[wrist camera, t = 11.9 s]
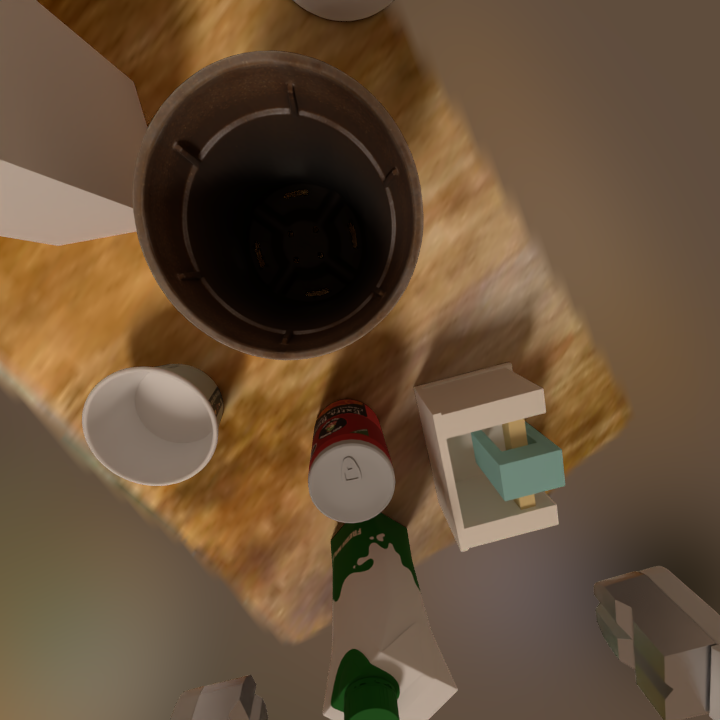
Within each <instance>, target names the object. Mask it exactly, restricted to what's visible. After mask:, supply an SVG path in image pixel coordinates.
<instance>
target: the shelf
mask: <svg viewBox="0 0 720 720" xmlns="http://www.w3.org/2000/svg"><path fill="white" fill-rule="evenodd" d="M414 392H415V397H416V401H417V406H418V410H419V415H420V419H421V424H422V429H423V433H424V438H425V442H426V447H427V451H428V456H429V460H430V465H431V470H432V474H433V479H434V483H435V488H436V492H437V497H438V501H439V504H440V506H441V509H442V511H443V513H444V515H445V518H446V520H447V522H448V524H449V526H450V529H451V531H452V533H453V535H454V537H455V540H456V542H457V544H458V546H459V548H460V550H461V552H463V551H467V550H468V548H471V547H475V546H479V545H482V544H486V543H490V542H494V541H498V540H501V539H505V538H509V537H513V536H516V535H520V534H524V533H528V532H532V531H535V530H539V529H543V528H547V527H550V526H554V525H558V524H559V522H558V513H557V504H556V503H555V502H554V501H553V500H552V499H551V498H550V497H549V496H548V495H547V494H546V493H545V492H544V491H543V492H540V493H536V494H532V495H528V496H524V497H520V498H516V499H513V500H509V501H504V500H503V498H502V497H501V496H500V494H499V493H498V492H497V490H496V489H495V488H494V486H493V485H492V483H491V482H490V481H489V479H488V478H487V477H486V475H485V474H484V473H483V471H482V470H481V469H480V467H479V466H478V465H477V463H476V460H475V455H474V449H473V443H472V437H471V432H474V431H478V430H482V431H483V432H484V433H485V434H486V435H487V436H488V437H489V438H490V440H491V441H492V442H493V443H494V444H495V445H496V446H497V447H498V448H499V449H500V450H501V451H506V450H510V449H514V448H518V447H521V446H525V445H528V442H527V435H526V427H525V420H524V418H528V417H532V416H535V415H539V414H543V413H546V407H545V399H544V390H543V388H541V387H540V386H538V385H536V384H534V383H532V382H531V381H529V380H527V379H525V378H523V377H522V376H520V375H518V374H516V373H515V372H513V369H512V363H510V362H508V363H504V364H500V365H496V366H492V367H489V368H485V369H481V370H477V371H473V372H469V373H465V374H462V375H458V376H454V377H450V378H446V379H442V380H439V381H435V382H431V383H427V384H423V385H419V386H416V387H414Z"/></svg>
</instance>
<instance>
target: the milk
mask: <svg viewBox="0 0 720 720" xmlns="http://www.w3.org/2000/svg"><path fill="white" fill-rule="evenodd" d="M147 129H148V128H147V125H146V121H145V118H144V115H143V111H142V108H141V105H140V101H139V98H138V95H137V91H136V88H135V85H134V82H133V81H132V80H131V79H130V78H128V77H127V76H126V75H125V74H124V73H122V72H121V71H120V70H119V69H118V68H116V67H115V66H114V65H113V64H112V63H110V62H109V61H108V60H107V59H106V58H104V57H103V56H102V55H101V54H100V53H99V52H97V51H96V50H95V49H94V48H93V47H91V46H90V45H89V44H88V43H87V42H85V41H84V40H83V39H82V38H81V37H79V36H78V35H77V34H76V33H75V32H73V31H72V30H71V29H70V28H69V27H67V26H66V25H65V24H64V23H63V22H62V21H60V20H59V19H58V18H57V17H56V16H54V15H53V14H52V13H51V12H50V11H48V10H47V9H46V8H45V7H44V6H42V5H41V4H40V3H39V2H38V1H36V0H0V236H4V237H10V238H15V239H21V240H27V241H33V242H39V243H45V244H51V245H57V246H60V245H65V244H71V243H76V242H81V241H87V240H92V239H98V238H103V237H109V236H114V235H120V234H125V233H131V232H136V231H137V230H136V225H135V219H134V212H133V182H134V173H135V167H136V161H137V157H138V153H139V150H140V147H141V144H142V141H143V138H144V136H145V133H146V131H147Z"/></svg>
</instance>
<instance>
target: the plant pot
mask: <svg viewBox="0 0 720 720" xmlns="http://www.w3.org/2000/svg"><path fill="white" fill-rule="evenodd" d="M296 190H308V191H309V193H308V195H306V196H302V195H301V196H298V197H290V198H288V199H284V198H283V197H284V195H285V194H286V193H288V192H292V191H296ZM133 212H134V219H135V225H136V230H137V235H138V239H139V242H140V246H141V249H142V251H143V254H144V257H145V259H146V261H147V263H148V266H149V268H150V270H151V272H152V274H153V276H154V278H155V280H156V281H157V283H158V285H159V286H160V288H161V289H162V291H163V292H164V294H165V295H166V296H167V298H168V299H169V300H170V302H171V303H172V304H173V305H174V306H175V308H176V309H177V310H178V311H179V312H180V313H181V314H182V315H183V316H184V317H185V318H186V319H187V320H188V321H190V322H191V323H192V324H193V325H195V326H196V327H197V328H198V329H200V330H201V331H203V332H204V333H205V334H207V335H208V336H210V337H211V338H213V339H215V340H216V341H218V342H220V343H222V344H224V345H226V346H228V347H230V348H232V349H235V350H238V351H241V352H243V353H246V354H250V355H253V356H257V357H262V358H267V359H276V360H299V359H307V358H312V357H318V356H322V355H325V354H328V353H332V352H334V351H337V350H339V349H342V348H344V347H346V346H348V345H350V344H352V343H353V342H355V341H357V340H358V339H360V338H362V337H363V336H364V335H366V334H367V333H368V332H370V331H371V330H372V329H373V328H374V327H376V326H377V325H378V324H379V323H380V322H381V321H382V320H383V319H384V318H385V317H386V316H387V315H388V314H389V312H390V311H391V310H392V309H393V307H394V306H395V305H396V303H397V302H398V301H399V299H400V298H401V296H402V295H403V293H404V291H405V289H406V287H407V286H408V283H409V281H410V279H411V277H412V275H413V272H414V269H415V266H416V263H417V260H418V256H419V252H420V248H421V242H422V234H423V205H422V195H421V187H420V182H419V178H418V173H417V169H416V166H415V163H414V160H413V157H412V154H411V152H410V149H409V147H408V145H407V143H406V141H405V139H404V137H403V135H402V133H401V131H400V130H399V128H398V126H397V125H396V123H395V122H394V120H393V118H392V117H391V116H390V114H389V113H388V112H387V111H386V109H385V108H384V107H383V106H382V105H381V103H380V102H379V101H378V100H377V99H376V98H375V97H374V96H373V95H372V94H371V93H370V92H369V91H368V90H367V89H366V88H364V87H363V86H362V85H361V84H360V83H358V82H357V81H356V80H354V79H353V78H351V77H350V76H348V75H347V74H345V73H344V72H342V71H340V70H339V69H337V68H335V67H333V66H331V65H329V64H327V63H325V62H323V61H320V60H317V59H314V58H312V57H308V56H304V55H301V54H296V53H291V52H284V51H255V52H248V53H242V54H238V55H234V56H230V57H227V58H225V59H222V60H219V61H217V62H215V63H212V64H210V65H208V66H206V67H205V68H203V69H201V70H199V71H198V72H196V73H195V74H194V75H192V76H191V77H190V78H188V79H187V80H186V81H185V82H184V83H182V84H181V85H180V86H179V87H178V88H177V89H176V90H175V91H174V92H173V93H172V94H171V95H170V96H169V97H168V98H167V100H166V101H165V102H164V103H163V104H162V106H161V107H160V109H159V110H158V112H157V113H156V115H155V116H154V118H153V120H152V121H151V123H150V125H149V127H148V129H147V131H146V133H145V136H144V138H143V141H142V144H141V147H140V150H139V153H138V157H137V161H136V167H135V173H134V182H133ZM349 223H352V224H353V225H354V228H355V232H356V237H357V248H356V249H354V248H353V246H352V239H351V233H350V231H349V228H348V224H349ZM314 226H317V227H318V228H319V232H318V233H314V232H313V229H312V228H313V227H314ZM290 230H291V231H293V232H294V236H293V237H289V236H288V231H290ZM256 241H257V242H258V243H259V244H260V250H261V254H262V258H263V260H264V262H265V267H264V268H261V267H260V265H259V263H258V259H257V256H256V252H255V242H256ZM319 252H322V253H323V254H324V258H321V259H320V258H319V257H318V255H317V254H318V253H319ZM295 256H296V257H298V258H299V263H295V262H294V261H293V258H294V257H295ZM323 288H328V289H329V293H327V294H324V295H320V296H306V295H305V293H307V292H311V291H316V290H321V289H323Z"/></svg>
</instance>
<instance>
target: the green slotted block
mask: <svg viewBox="0 0 720 720" xmlns="http://www.w3.org/2000/svg"><path fill="white" fill-rule="evenodd" d="M525 427H526V435H527V442H528V445H525V446H521V447H518V448H514V449H510V450H506V451H501V450H500V449H499V448H498V447H497V446H496V445H495V444H494V443H493V442H492V441H491V440H490V438H489V437H488V436H487V435H486V434H485V433H484V432H483V431H482V430H478V431H474V432H471V437H472V443H473V449H474V455H475V460H476V463H477V465H478V466H479V467H480V469H481V470H482V471H483V473H484V474H485V475H486V477H487V478H488V479H489V481H490V482H491V483H492V485H493V486H494V488H495V489H496V490H497V492H498V493H499V494H500V496H501V497H502V498H503V500H504V501H509V500H513V499H516V498H520V497H524V496H528V495H532V494H536V493H540V492H543V491H547V490H551V489H555V488H559V487H563V486H565V478H564V468H563V458H562V449H560V448H559V447H558V446H557V445H555V444H554V443H553V442H551V441H550V440H549V439H548V438H546V437H545V436H544V435H542V434H541V433H540V432H539V431H537V430H536V429H535V428H533V427H532V426H531V425H530V424H528V423H527V422H526V421H525Z"/></svg>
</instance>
